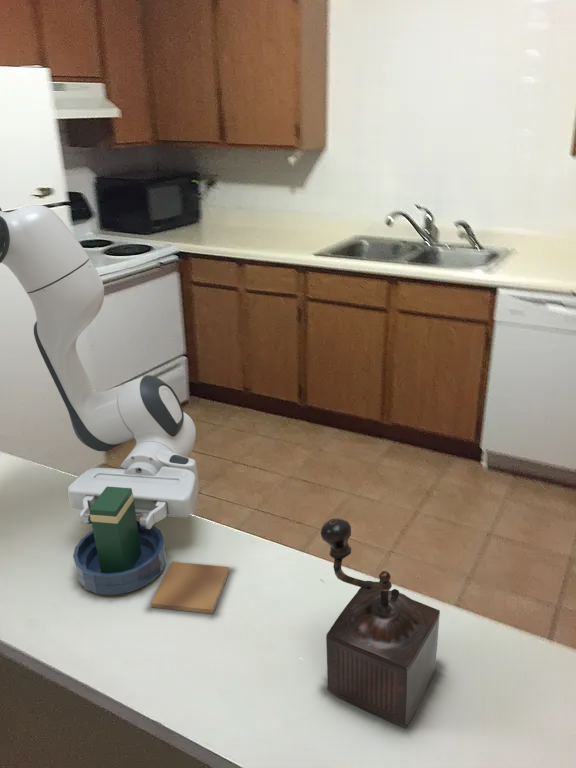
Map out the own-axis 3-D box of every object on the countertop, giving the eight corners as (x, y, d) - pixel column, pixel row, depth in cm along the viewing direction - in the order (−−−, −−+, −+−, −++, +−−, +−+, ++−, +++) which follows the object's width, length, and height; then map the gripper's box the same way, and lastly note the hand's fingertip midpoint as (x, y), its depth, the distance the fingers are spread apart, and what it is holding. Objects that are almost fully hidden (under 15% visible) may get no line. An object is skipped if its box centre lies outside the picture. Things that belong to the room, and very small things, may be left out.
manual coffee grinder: (440, 663, 83) (450, 546, 76) (406, 731, 75) (412, 607, 67) (331, 618, 91) (330, 508, 84) (288, 675, 83) (283, 558, 75)
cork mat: (151, 607, 94) (150, 602, 94) (172, 565, 102) (172, 561, 102) (212, 613, 93) (212, 609, 92) (229, 571, 101) (229, 566, 100)
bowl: (62, 593, 97) (57, 571, 96) (100, 537, 109) (97, 517, 108) (147, 602, 95) (144, 580, 93) (177, 544, 107) (175, 523, 105)
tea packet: (101, 576, 100) (88, 509, 95) (117, 550, 105) (106, 485, 100) (126, 579, 99) (115, 511, 94) (142, 552, 104) (132, 487, 99)
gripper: (87, 452, 112) (45, 499, 99) (204, 460, 108) (177, 510, 96) (92, 484, 114) (52, 534, 102) (208, 493, 111) (181, 545, 98)
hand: (114, 522), depth 99 cm, fingers open, 8 cm apart
